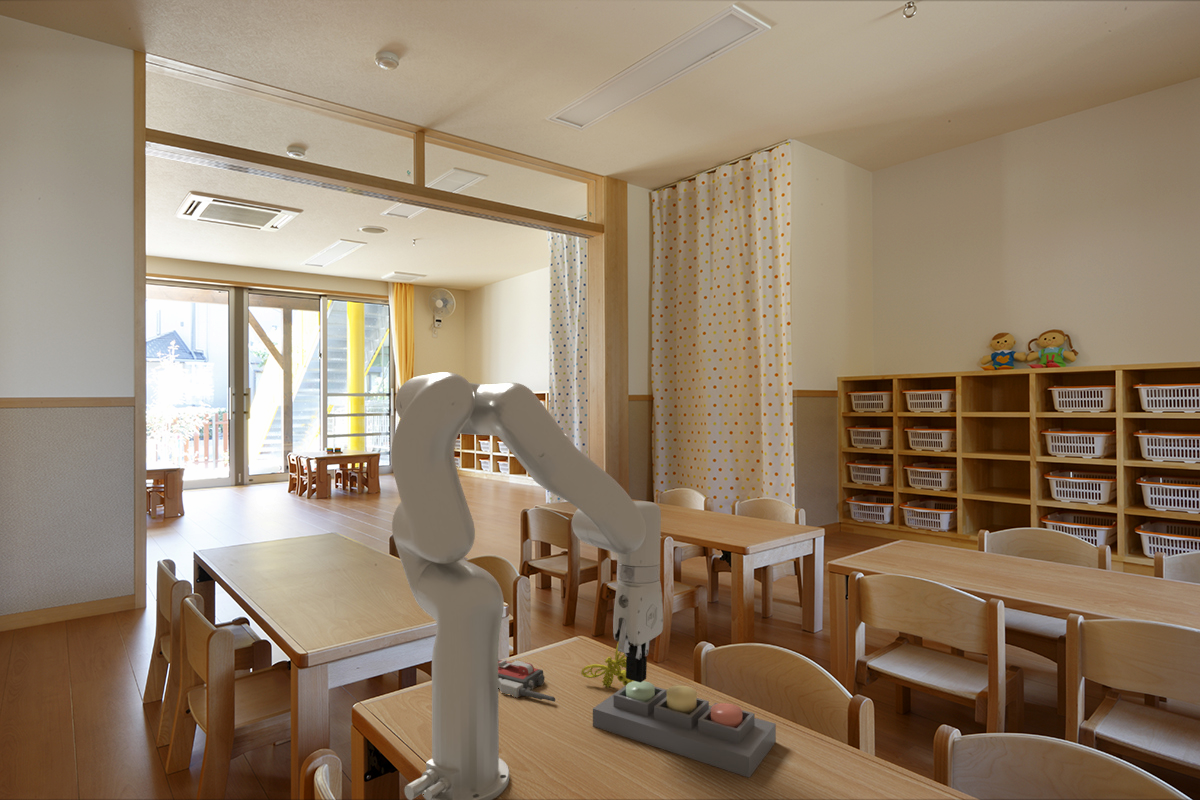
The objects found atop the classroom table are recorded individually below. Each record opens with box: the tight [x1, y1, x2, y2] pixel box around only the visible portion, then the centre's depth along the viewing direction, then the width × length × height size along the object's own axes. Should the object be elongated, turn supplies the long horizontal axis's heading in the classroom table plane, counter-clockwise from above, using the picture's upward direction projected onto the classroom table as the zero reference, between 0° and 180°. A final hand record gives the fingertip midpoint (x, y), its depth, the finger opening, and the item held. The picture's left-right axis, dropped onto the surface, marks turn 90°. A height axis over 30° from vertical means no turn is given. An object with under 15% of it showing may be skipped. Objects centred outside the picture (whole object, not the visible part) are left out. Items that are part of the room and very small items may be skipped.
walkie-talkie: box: [498, 659, 556, 702], centre depth 125 cm, size 9×4×20 cm
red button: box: [711, 702, 743, 728], centre depth 102 cm, size 5×5×2 cm
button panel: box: [592, 686, 777, 778], centre depth 106 cm, size 12×28×5 cm, turn 56°
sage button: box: [626, 680, 656, 702], centre depth 111 cm, size 5×5×2 cm
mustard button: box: [666, 684, 698, 714], centre depth 106 cm, size 5×5×2 cm
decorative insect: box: [580, 641, 633, 689], centre depth 124 cm, size 13×3×10 cm
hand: (636, 678), depth 110 cm, fingers closed
